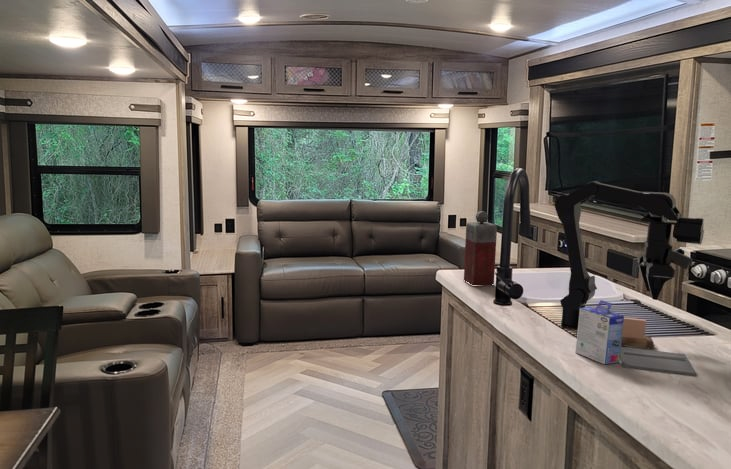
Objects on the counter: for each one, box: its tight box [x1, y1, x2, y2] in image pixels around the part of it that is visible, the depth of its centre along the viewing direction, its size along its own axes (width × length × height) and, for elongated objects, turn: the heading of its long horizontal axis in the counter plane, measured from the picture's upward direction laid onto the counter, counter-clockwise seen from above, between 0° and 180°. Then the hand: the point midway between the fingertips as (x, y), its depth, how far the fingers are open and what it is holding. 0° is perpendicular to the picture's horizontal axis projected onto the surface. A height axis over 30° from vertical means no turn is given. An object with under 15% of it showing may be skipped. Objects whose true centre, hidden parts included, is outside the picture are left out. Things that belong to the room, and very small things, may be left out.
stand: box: [621, 335, 654, 350], centre depth 163 cm, size 12×6×2 cm, turn 72°
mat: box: [620, 346, 698, 377], centre depth 149 cm, size 16×14×1 cm
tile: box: [622, 317, 647, 339], centre depth 162 cm, size 8×1×7 cm, turn 72°
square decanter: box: [463, 210, 498, 285], centre depth 229 cm, size 9×11×28 cm
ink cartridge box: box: [575, 299, 625, 365], centre depth 150 cm, size 10×6×14 cm, turn 28°
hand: (651, 295), depth 164 cm, fingers open, 9 cm apart
